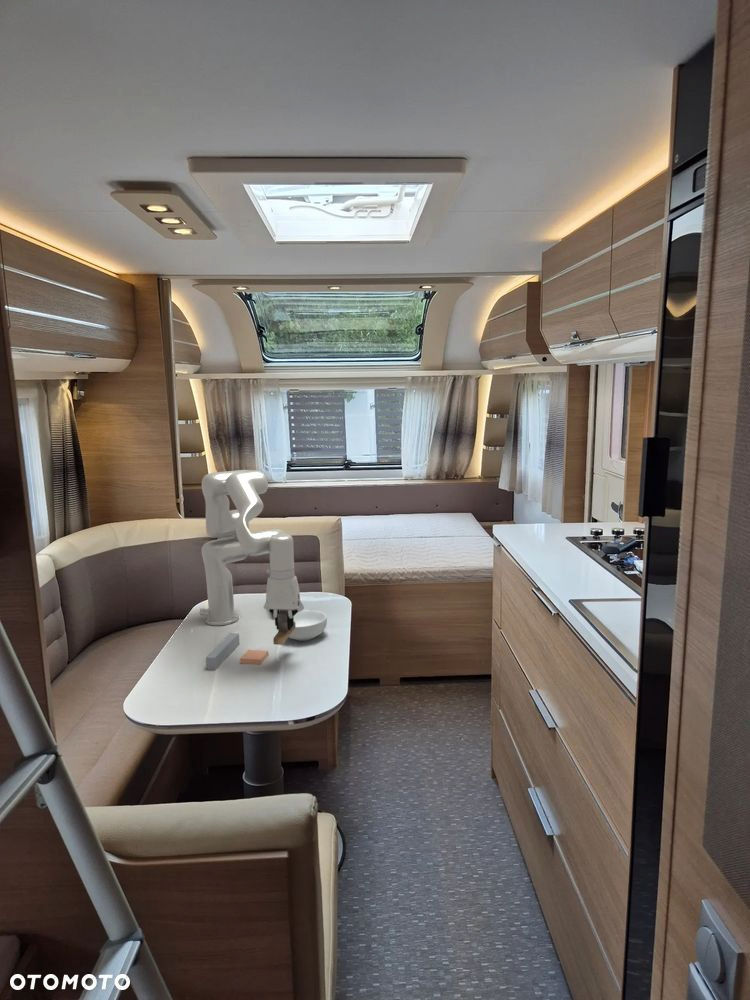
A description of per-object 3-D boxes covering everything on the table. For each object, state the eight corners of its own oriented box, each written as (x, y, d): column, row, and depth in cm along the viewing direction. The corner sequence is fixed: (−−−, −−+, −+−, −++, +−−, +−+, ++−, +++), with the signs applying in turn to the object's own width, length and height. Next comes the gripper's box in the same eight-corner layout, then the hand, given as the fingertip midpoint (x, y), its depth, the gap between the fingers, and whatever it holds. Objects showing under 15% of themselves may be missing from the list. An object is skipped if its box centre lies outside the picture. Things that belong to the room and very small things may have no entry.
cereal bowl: (304, 624, 226) (303, 606, 224) (337, 634, 215) (336, 615, 214) (270, 638, 213) (268, 619, 212) (302, 650, 202) (301, 630, 201)
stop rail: (206, 669, 189) (205, 657, 189) (231, 644, 209) (230, 633, 208) (215, 669, 189) (214, 657, 188) (239, 644, 208) (238, 633, 208)
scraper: (273, 644, 187) (272, 619, 186) (286, 626, 201) (285, 604, 199) (282, 644, 187) (281, 620, 185) (295, 627, 200) (294, 604, 199)
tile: (240, 664, 193) (240, 658, 193) (248, 655, 200) (248, 649, 200) (261, 665, 192) (260, 659, 192) (268, 656, 199) (268, 650, 199)
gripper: (253, 575, 187) (256, 631, 191) (304, 577, 185) (306, 634, 188) (261, 568, 195) (264, 622, 198) (310, 570, 192) (312, 625, 196)
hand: (284, 627), depth 193 cm, fingers closed on scraper, 3 cm apart
